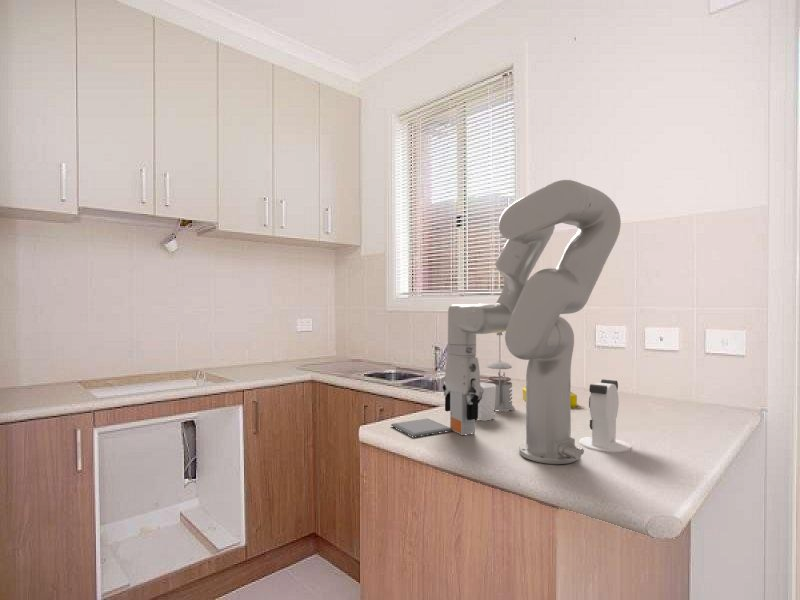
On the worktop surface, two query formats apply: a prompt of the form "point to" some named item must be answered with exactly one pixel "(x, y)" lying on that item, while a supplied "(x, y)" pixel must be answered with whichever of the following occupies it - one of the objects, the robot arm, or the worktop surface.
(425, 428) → the tray
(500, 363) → the french press
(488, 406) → the white cup
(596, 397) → the panda figurine
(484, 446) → the worktop surface
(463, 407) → the skincare box
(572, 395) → the element tile
